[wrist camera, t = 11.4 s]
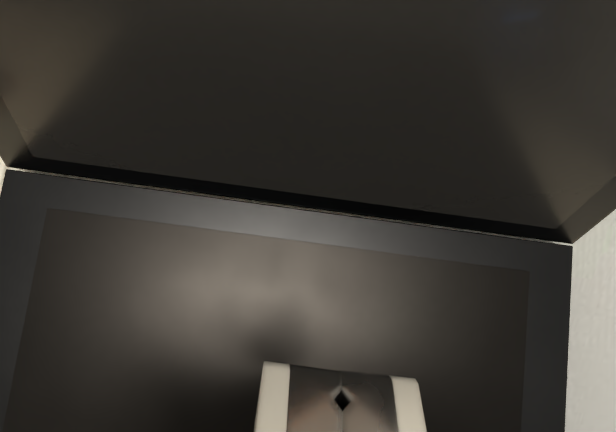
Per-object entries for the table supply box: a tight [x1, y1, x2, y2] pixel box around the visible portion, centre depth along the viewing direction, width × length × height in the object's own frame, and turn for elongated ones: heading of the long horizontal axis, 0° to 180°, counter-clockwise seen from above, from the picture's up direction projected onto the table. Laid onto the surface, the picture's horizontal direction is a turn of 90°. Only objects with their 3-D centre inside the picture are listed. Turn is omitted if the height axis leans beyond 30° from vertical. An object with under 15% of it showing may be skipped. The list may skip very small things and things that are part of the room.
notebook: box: [0, 169, 573, 432], centre depth 28 cm, size 21×30×2 cm
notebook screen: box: [0, 0, 616, 244], centre depth 19 cm, size 21×30×1 cm
